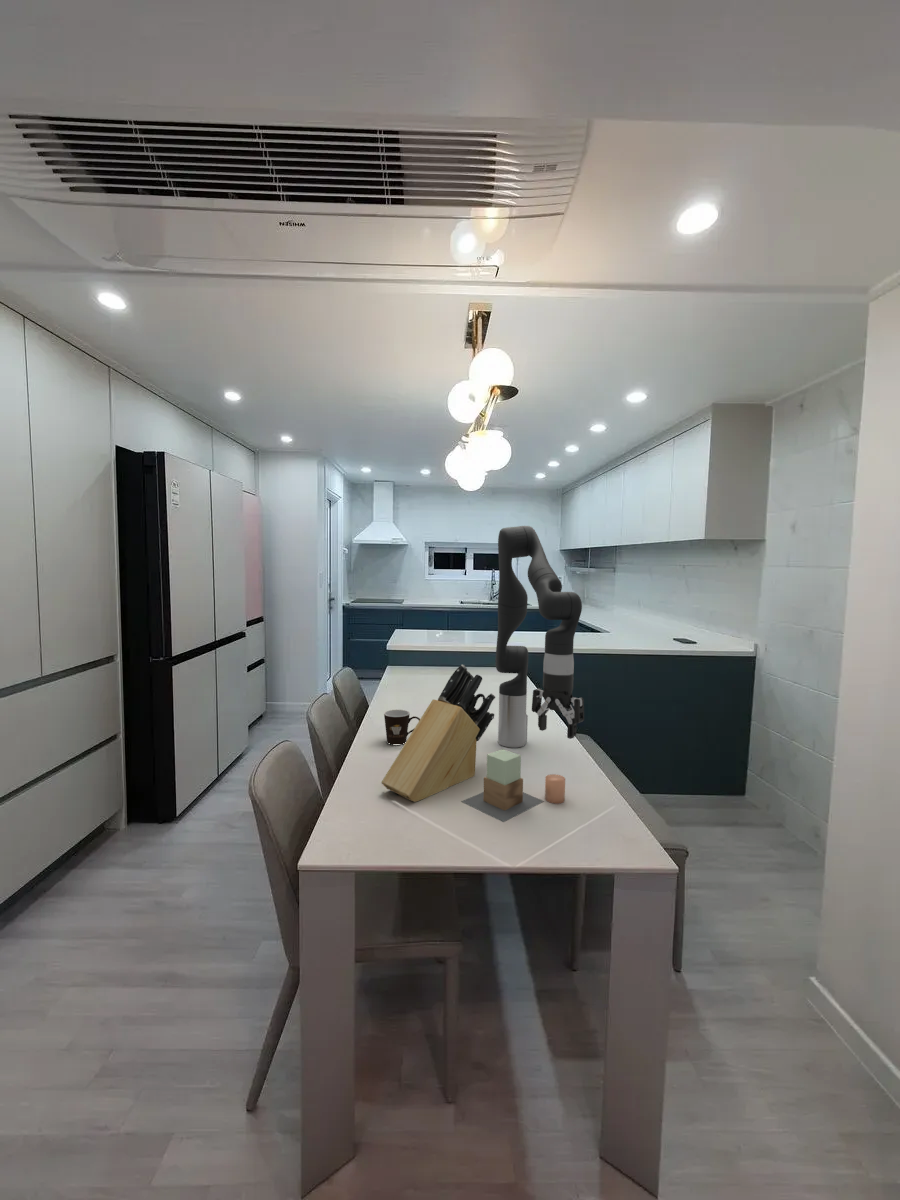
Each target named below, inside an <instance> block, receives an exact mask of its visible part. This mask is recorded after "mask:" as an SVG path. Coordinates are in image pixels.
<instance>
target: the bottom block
mask: <svg viewBox="0 0 900 1200" xmlns="http://www.w3.org/2000/svg"><path fill="white" fill-rule="evenodd" d="M483 792H484V796H483V801H485V802H487V803H489V804H491V805H494V806H496V807H498V808H500V809H502V810H504V811H505V810H507V809H509V808H511V807H513V806H515V805H517V804H519V803H521V802H523V792H524V778H522V777H520V779H518V780H516V781H514V782H512V783H509V784H507V785H503V784H500V783H498V782H496V781H493V780H491V779H488V778H487V776H484V777H483Z"/></svg>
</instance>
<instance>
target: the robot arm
mask: <svg viewBox="0 0 900 1200" xmlns="http://www.w3.org/2000/svg"><path fill="white" fill-rule="evenodd" d="M497 547H498V548H497V550H498V551H497V552H498V554H497V555H498V579H499V580H498V597H497V635H496V636H497V637H496V647H495V659H494V660H495V669H496V671H497V672H498V673H500V674H517V675H516V676H515V677H513V678H512V679H510V680H507V681H504V682H502V683H500V684H499V687H498V696H499V697H498V723H497V725H498V726H497V728H498V729H497V730H498V732H497V743H498V744H499V745H500V746H501V747H506V748H521V747H524V746H526V743H528V725H529V724H528V719H529V715H528V714H527V698H528V697H527V696H528V694H527V692H528V691H527V690H528V689H527V688H528V685H527V684H528V670H529V669H528V668H529V667H528V666H529V650H528V648H527V647H526V645H524V646H523V645H508V642H509V640H510V638H511V637H512V635H513V634H514V632H515V631H516V630H517V629H518V628H519V627H520V626H521V624H522V623H523V622H524V620H525V618H526V616H527V613H528V592H527V590H526V589H525V587H524V585H523V584H522V583H521V581H520V580H519V578H518V577H517V576H516V574H515V572H514V569H513V563H512V562H513V559H515V558H516V559H517V558H518V559H519V558H525V557H530V558H531V560H530V563H529V565H528V568H527V578H528V582H529V583H530V585H531V587H532V589H533V591H534V592H535V593H536V594H535V595H536V598H537V603H538V604H537V605H538V611H539V614H540V615H541V616H542V617H543V618H544V619H546V620H549V621H561V622H560V624H559V625H558V626H557V627H554V628H550V629H548V630H547V631H546V632H545V636H544V640H545V641H544V656H543V664H542V665H543V666H542V667H543V669H542V670H543V671H542V672H543V673H542V688H543V689H542V688H536V689H533V690H532V699H531V700H532V701H531V711H532V712H533V713H536V715H537V719H538V720H537V725H538V726H537V727H538V729H539V731H542V732H543V731H546V730H547V728H548V727H547V724H548V723H547V720H548V719H547V718H548V716H547V715H546V714H547V713H548V712H549V711H550V710H551V711H556V712H558V713H562V716H563V717H565V719H566V721H567V735H566V737H567V738H568V739H573V738H575V737H576V736H577V725H578V724H580V723H583V722H584V721H585V699H584V698H583V697H582V696H581V697H579V698H578V697H574V696H573V690H574V671H575V669H574V667H575V660H574V639H575V634H576V631H577V627H578V624H579V621H580V619H581V616H582V615H581V614H582V611H583V603H582V599H581V597H580V596H579V594H577V593H576V592H573V591H562V590H563V585H562V582H561V579H560V578H559V577H558V575H557V574H556V572H555V571H554V570H553V568H552V566H551V565H550V563H549V560H548V558H547V556H546V552H545V550H544V548H543V545H542V543H541V540H540V539H539V536H538V533H537V532H536V530H535V529H534V527H532V526H530V525H518V526H508V527H503V528H501V529H500V530H499V533H498V538H497ZM542 698H543V699H544V702H543V703H542Z"/></svg>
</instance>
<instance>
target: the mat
mask: <svg viewBox="0 0 900 1200" xmlns="http://www.w3.org/2000/svg"><path fill="white" fill-rule="evenodd" d="M483 796H484V791H483V792H480V793H477V794H475V795H473V796H470V797H468V798H466V799H464V800H461V801H460V802H461V803H462V804H465V805H467V806H469V807H472V808H473V809H475V810H478V811H480V812H482V813H484V814H486V815H488V816H490V817H492V818H493V819H495V820H498V821H500V822H502V823H505V822H507V821H509V820H510V819H512V818H515V817H516V816H518V815H520V814H523V813H524V812H526V811H528V810H530V809H532V808H534V807H536V806H538V805H540V804H543V803H544V802H545V800H543V799H541V798H538V797H536V796H533V795H532V794H528V793H526V792H524V791H523V802H521V803H519V804H517V805H515V806H513V807H511V808H509V809H507V810H505V811H504V810H502V809H500V808H498V807H496V806H494V805H491V804H489V803H487V802H485V801H483Z"/></svg>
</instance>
